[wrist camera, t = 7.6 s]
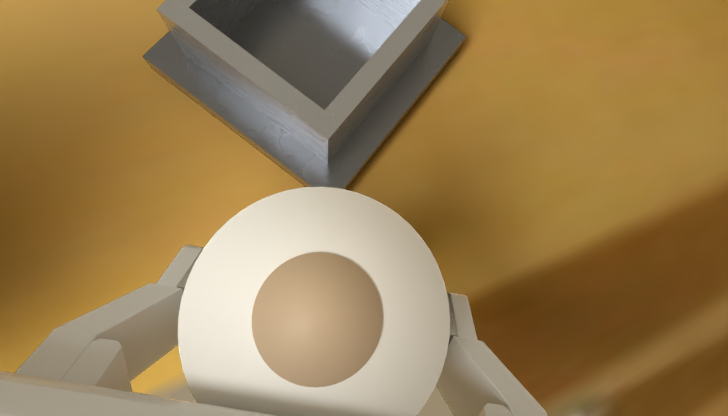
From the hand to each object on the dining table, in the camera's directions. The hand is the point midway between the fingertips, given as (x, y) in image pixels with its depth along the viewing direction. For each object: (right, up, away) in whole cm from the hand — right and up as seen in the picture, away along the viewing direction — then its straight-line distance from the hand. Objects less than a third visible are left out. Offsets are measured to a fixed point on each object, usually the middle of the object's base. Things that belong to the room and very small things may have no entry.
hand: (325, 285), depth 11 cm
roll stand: (-2, +11, +12) cm, 17 cm away
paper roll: (-1, -2, +6) cm, 6 cm away
